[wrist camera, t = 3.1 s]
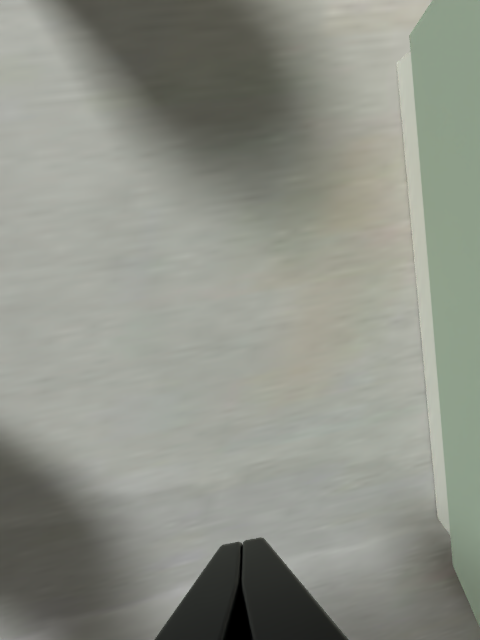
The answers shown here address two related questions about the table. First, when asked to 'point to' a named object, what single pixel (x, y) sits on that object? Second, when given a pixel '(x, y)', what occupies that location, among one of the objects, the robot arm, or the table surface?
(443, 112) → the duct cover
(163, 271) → the table surface
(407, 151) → the cable duct
